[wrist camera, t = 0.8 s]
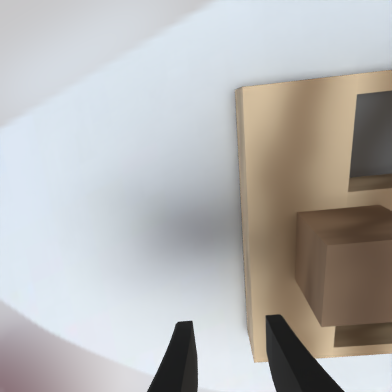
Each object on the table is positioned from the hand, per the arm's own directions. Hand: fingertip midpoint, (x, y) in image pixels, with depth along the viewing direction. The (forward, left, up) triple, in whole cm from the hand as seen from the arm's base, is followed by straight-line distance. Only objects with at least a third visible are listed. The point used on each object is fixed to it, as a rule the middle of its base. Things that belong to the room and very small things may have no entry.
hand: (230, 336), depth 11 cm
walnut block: (-7, 0, -6) cm, 10 cm away
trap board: (-11, 0, -9) cm, 14 cm away
